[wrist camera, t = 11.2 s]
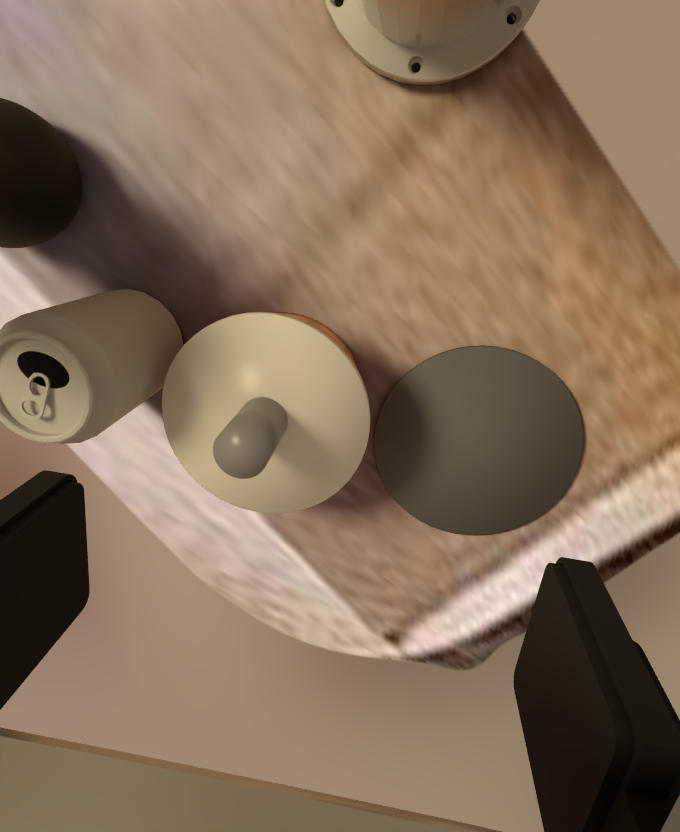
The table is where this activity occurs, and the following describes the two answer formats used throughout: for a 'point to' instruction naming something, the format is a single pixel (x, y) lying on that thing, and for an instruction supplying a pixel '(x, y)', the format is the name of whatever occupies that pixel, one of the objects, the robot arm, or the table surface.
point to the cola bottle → (34, 178)
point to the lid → (266, 412)
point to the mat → (478, 440)
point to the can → (84, 364)
